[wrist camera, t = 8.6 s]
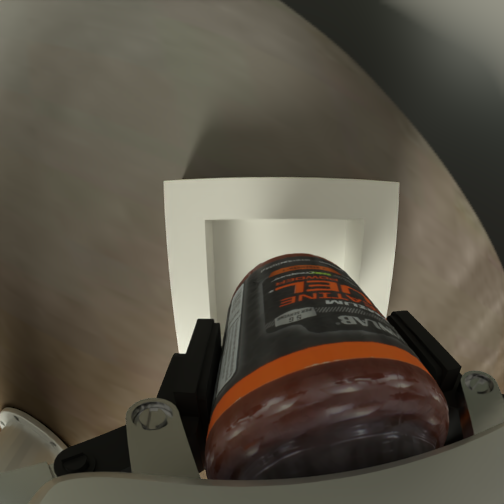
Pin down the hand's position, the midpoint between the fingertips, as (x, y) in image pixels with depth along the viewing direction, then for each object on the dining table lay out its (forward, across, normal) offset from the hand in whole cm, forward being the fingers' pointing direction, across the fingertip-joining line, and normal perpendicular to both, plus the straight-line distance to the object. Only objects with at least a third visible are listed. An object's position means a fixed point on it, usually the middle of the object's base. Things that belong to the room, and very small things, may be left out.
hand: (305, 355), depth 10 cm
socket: (+10, 0, 0) cm, 10 cm away
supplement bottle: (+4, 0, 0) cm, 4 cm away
